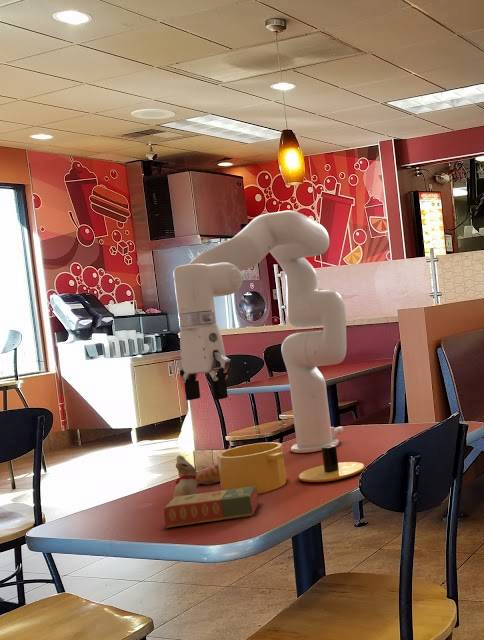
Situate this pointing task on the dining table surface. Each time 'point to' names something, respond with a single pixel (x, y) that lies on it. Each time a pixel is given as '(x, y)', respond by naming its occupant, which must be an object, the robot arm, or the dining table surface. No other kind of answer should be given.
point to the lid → (331, 468)
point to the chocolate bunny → (185, 478)
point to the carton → (211, 506)
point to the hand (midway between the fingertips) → (206, 399)
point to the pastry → (209, 476)
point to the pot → (252, 467)
